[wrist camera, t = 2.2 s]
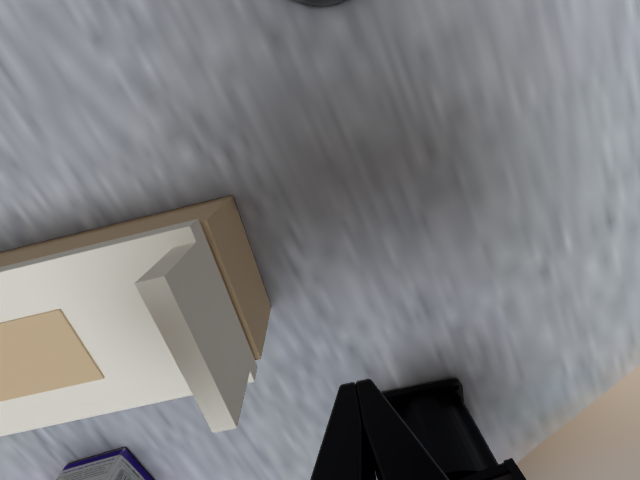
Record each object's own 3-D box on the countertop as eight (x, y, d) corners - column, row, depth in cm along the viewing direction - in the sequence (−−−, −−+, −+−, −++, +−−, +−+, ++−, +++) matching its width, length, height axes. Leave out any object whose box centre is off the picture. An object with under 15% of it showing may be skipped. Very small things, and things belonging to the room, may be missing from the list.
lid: (197, 218, 13) (154, 256, 9) (257, 366, 16) (242, 439, 12) (-130, 298, 14) (-289, 363, 10) (-15, 425, 17) (-106, 511, 13)
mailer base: (232, 195, 18) (206, 220, 14) (271, 306, 21) (260, 359, 16) (-16, 256, 19) (-121, 299, 14) (54, 355, 22) (-15, 419, 17)
